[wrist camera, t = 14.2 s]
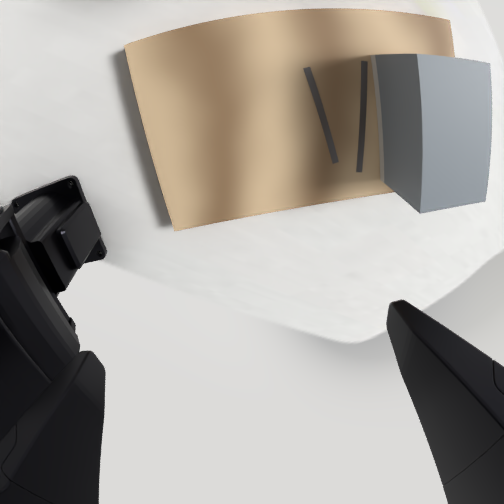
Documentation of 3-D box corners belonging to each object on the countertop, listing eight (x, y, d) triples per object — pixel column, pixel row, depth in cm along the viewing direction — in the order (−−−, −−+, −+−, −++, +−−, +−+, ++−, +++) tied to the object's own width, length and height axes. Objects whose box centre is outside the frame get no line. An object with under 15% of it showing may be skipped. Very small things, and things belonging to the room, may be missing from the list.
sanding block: (380, 179, 19) (420, 213, 14) (370, 54, 14) (416, 53, 10) (440, 171, 18) (485, 201, 14) (437, 58, 14) (490, 63, 10)
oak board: (177, 222, 21) (174, 231, 20) (130, 46, 14) (124, 45, 13) (446, 178, 20) (455, 184, 19) (439, 20, 14) (450, 20, 13)
